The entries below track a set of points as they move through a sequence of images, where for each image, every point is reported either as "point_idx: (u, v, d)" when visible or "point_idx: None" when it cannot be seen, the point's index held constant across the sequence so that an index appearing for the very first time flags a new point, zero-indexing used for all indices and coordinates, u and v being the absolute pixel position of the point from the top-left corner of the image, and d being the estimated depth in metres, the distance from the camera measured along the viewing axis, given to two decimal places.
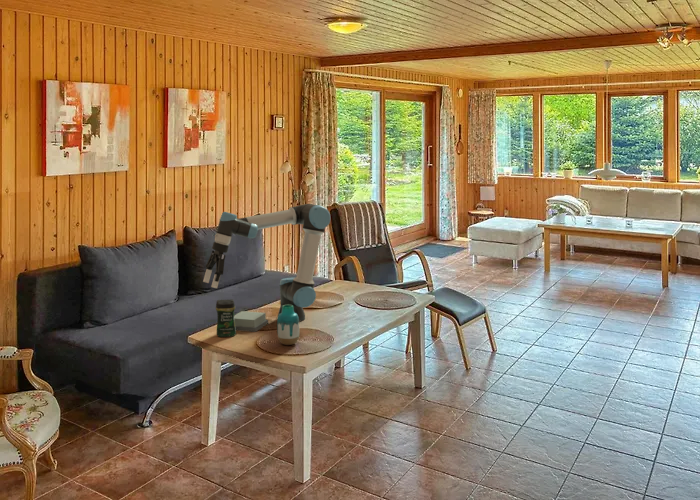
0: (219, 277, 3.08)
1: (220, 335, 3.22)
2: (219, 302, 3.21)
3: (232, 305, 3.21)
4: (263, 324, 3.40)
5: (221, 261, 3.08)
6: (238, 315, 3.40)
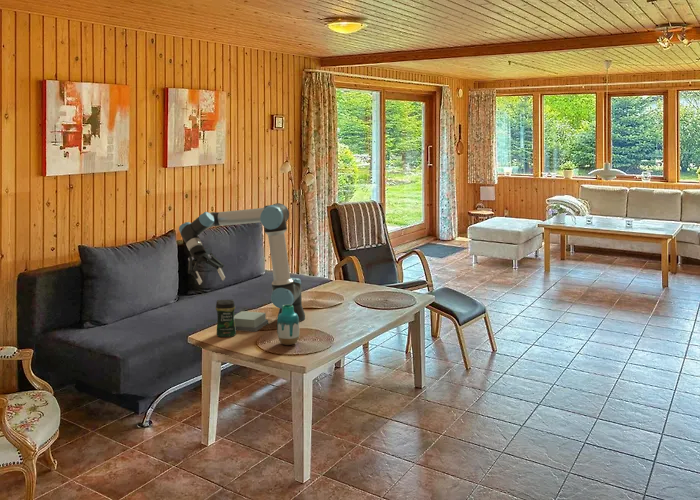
0: (194, 274, 3.25)
1: (220, 335, 3.22)
2: (219, 302, 3.21)
3: (232, 305, 3.21)
4: (263, 324, 3.40)
5: (189, 263, 3.29)
6: (238, 315, 3.40)
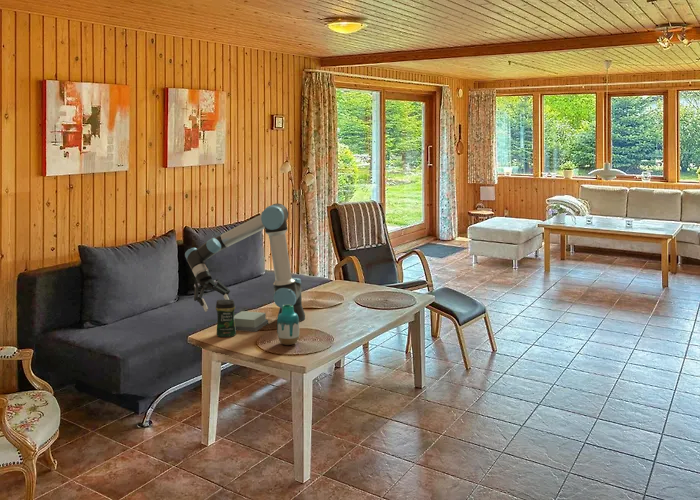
0: (200, 301, 3.23)
1: (220, 335, 3.22)
2: (219, 302, 3.21)
3: (232, 305, 3.21)
4: (263, 324, 3.40)
5: (195, 290, 3.27)
6: (238, 315, 3.40)
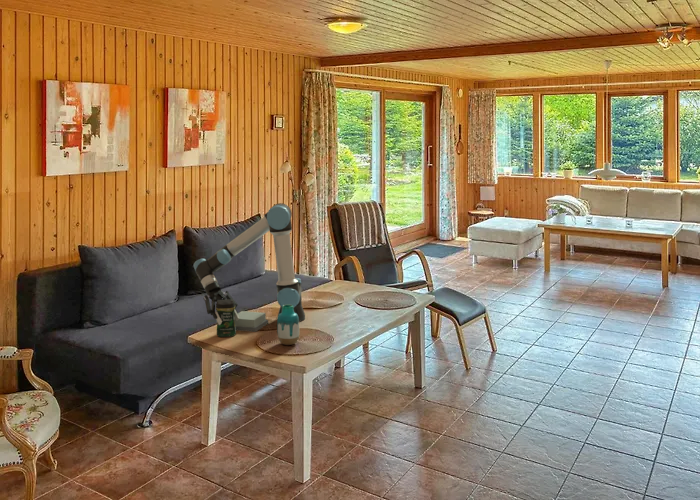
0: (213, 314, 3.20)
1: (220, 335, 3.22)
2: (219, 302, 3.20)
3: (232, 305, 3.21)
4: (263, 324, 3.40)
5: (206, 303, 3.23)
6: (238, 315, 3.40)
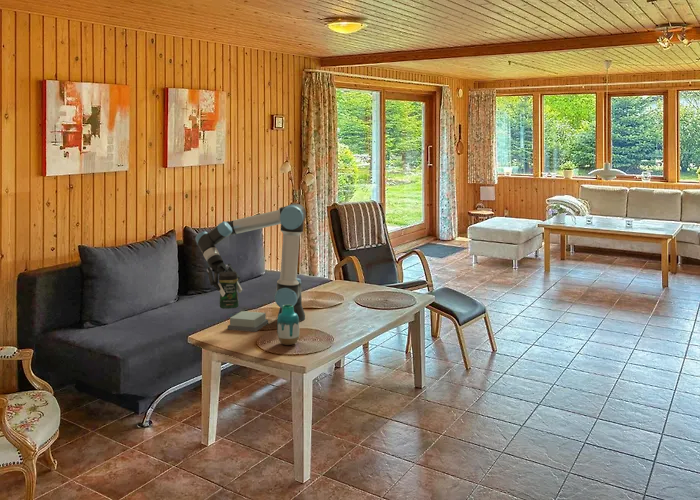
0: (216, 286, 3.21)
1: (223, 307, 3.23)
2: (222, 274, 3.21)
3: (235, 277, 3.22)
4: (263, 324, 3.40)
5: (208, 275, 3.24)
6: (238, 315, 3.40)
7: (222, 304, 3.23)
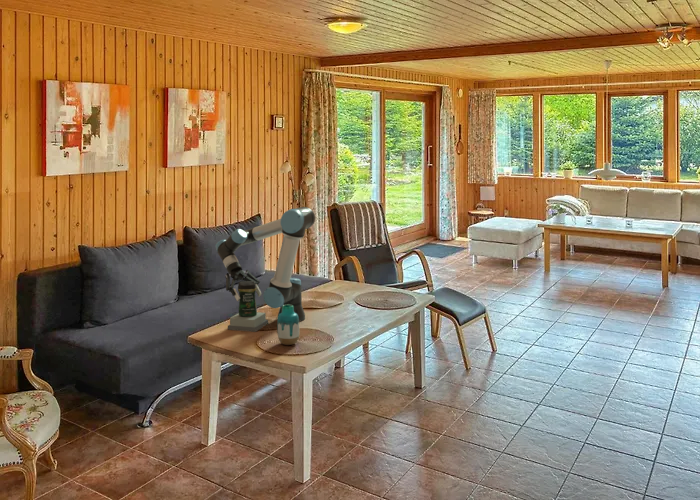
0: (232, 290, 3.33)
1: (242, 315, 3.36)
2: (241, 283, 3.35)
3: (253, 286, 3.35)
4: (263, 324, 3.40)
5: (226, 280, 3.37)
6: (238, 315, 3.40)
7: (241, 312, 3.36)
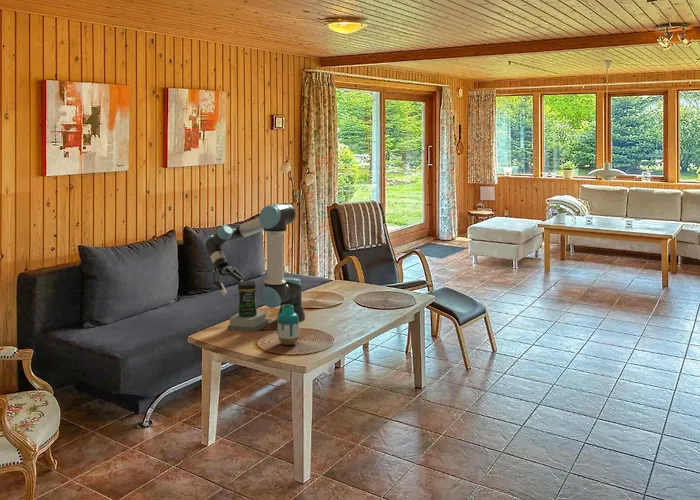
0: (219, 285, 3.42)
1: (242, 315, 3.36)
2: (241, 283, 3.35)
3: (253, 286, 3.35)
4: (263, 324, 3.40)
5: (213, 275, 3.46)
6: (238, 315, 3.40)
7: (241, 312, 3.36)
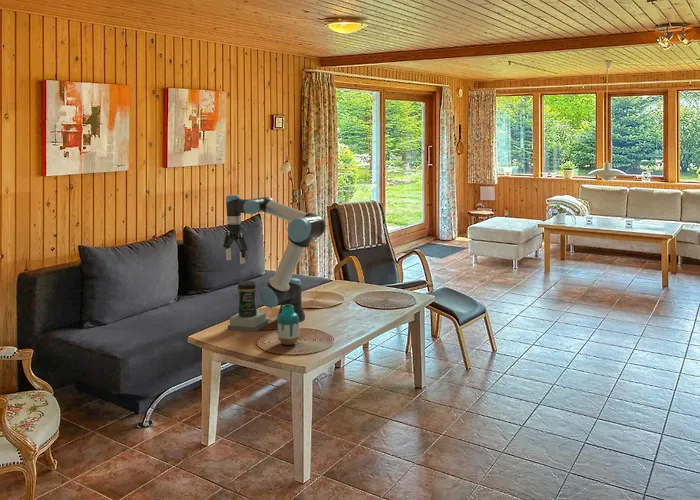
0: (244, 253, 3.46)
1: (242, 315, 3.36)
2: (241, 283, 3.35)
3: (253, 286, 3.35)
4: (263, 324, 3.40)
5: (242, 240, 3.44)
6: (238, 315, 3.40)
7: (241, 312, 3.36)
